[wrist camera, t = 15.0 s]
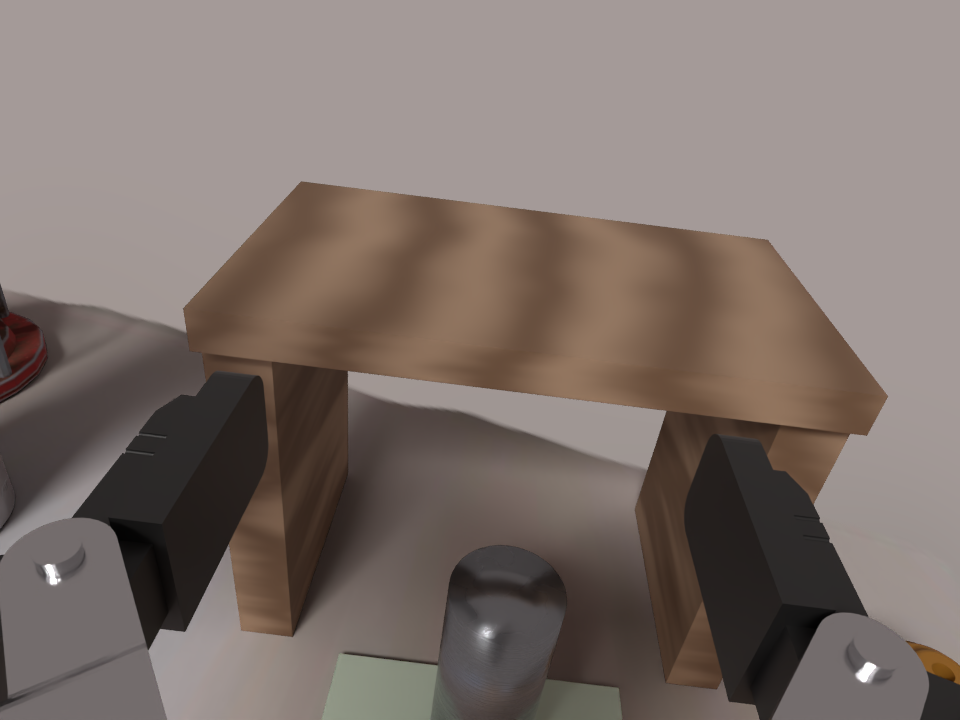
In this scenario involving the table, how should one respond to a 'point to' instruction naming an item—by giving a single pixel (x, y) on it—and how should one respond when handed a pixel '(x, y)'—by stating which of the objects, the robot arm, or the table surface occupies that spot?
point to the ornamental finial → (937, 662)
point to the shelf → (518, 362)
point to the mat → (410, 689)
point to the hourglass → (18, 351)
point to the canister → (497, 635)
